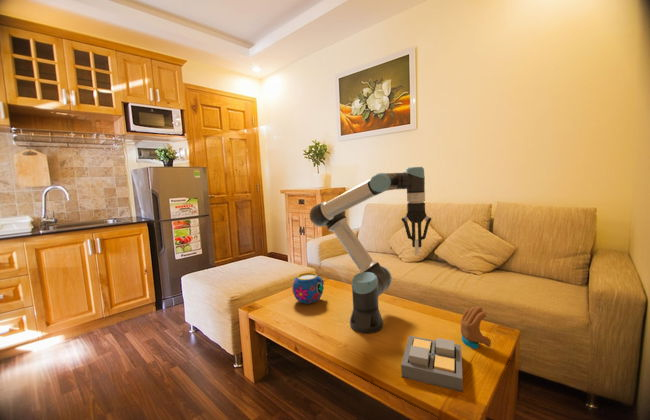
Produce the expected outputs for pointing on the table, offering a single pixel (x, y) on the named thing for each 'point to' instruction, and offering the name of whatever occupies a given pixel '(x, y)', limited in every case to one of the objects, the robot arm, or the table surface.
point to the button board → (431, 374)
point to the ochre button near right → (444, 364)
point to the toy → (473, 328)
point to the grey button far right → (445, 347)
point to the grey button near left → (419, 356)
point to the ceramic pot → (308, 287)
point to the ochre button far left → (422, 344)
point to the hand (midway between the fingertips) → (417, 254)
